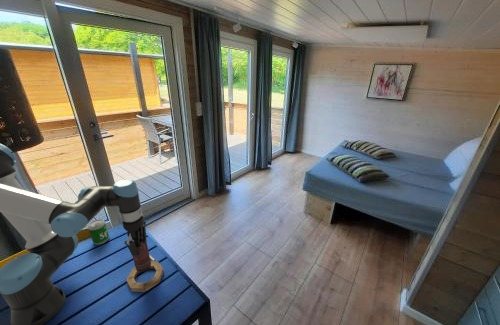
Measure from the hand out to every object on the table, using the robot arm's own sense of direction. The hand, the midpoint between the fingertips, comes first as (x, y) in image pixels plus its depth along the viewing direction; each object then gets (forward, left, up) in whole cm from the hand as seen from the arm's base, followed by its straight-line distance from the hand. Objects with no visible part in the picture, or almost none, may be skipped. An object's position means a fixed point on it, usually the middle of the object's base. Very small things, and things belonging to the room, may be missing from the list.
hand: (142, 261), depth 93 cm
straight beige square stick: (-4, +12, -10) cm, 16 cm away
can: (0, 0, -4) cm, 4 cm away
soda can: (-34, +22, -10) cm, 42 cm away
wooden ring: (0, 0, -10) cm, 10 cm away
